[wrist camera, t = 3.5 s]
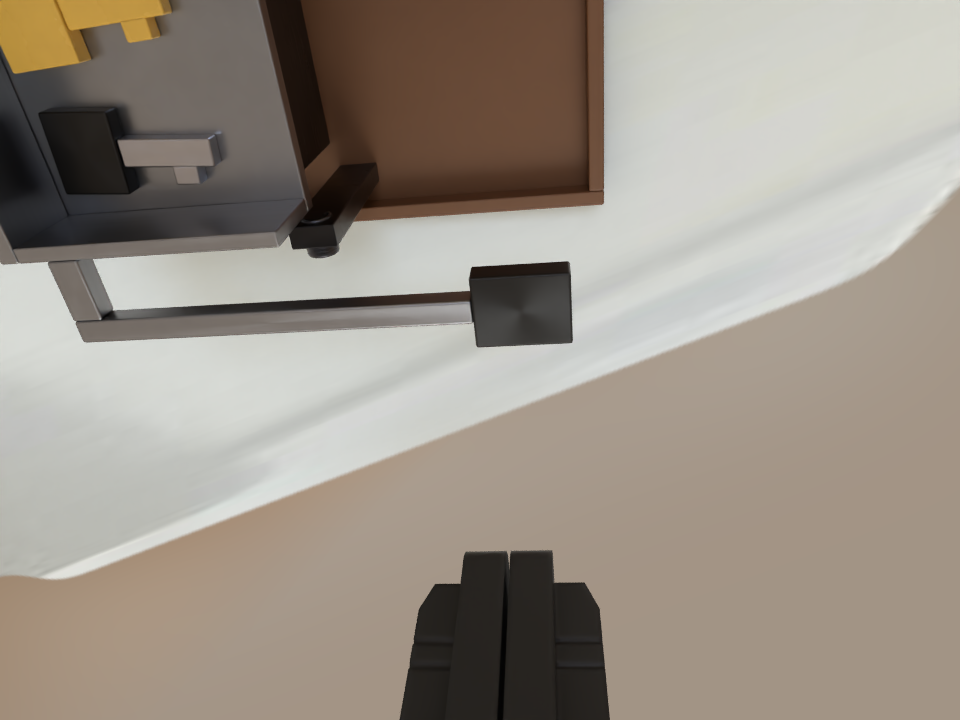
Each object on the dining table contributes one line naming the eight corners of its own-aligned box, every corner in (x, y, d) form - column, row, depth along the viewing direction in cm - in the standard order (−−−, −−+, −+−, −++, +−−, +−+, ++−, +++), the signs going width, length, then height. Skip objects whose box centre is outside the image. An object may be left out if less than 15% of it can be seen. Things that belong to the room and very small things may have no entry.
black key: (50, 107, 21) (36, 112, 21) (209, 105, 21) (200, 110, 20) (77, 188, 23) (65, 195, 22) (228, 188, 22) (219, 195, 22)
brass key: (-17, -26, 20) (-35, -25, 19) (150, -57, 19) (137, -57, 18) (27, 70, 21) (12, 74, 20) (184, 44, 20) (174, 48, 20)
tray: (22, -158, 24) (-7, -163, 23) (599, -238, 22) (603, -248, 21) (159, 224, 32) (143, 236, 30) (601, 193, 29) (603, 204, 28)
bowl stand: (61, -132, 24) (-104, -155, 18) (319, -167, 23) (239, -204, 17) (176, 207, 31) (84, 276, 24) (381, 192, 30) (341, 260, 23)
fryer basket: (-61, -76, 20) (-175, -78, 16) (554, -154, 18) (558, -173, 14) (108, 315, 26) (49, 367, 23) (568, 290, 24) (573, 343, 21)
